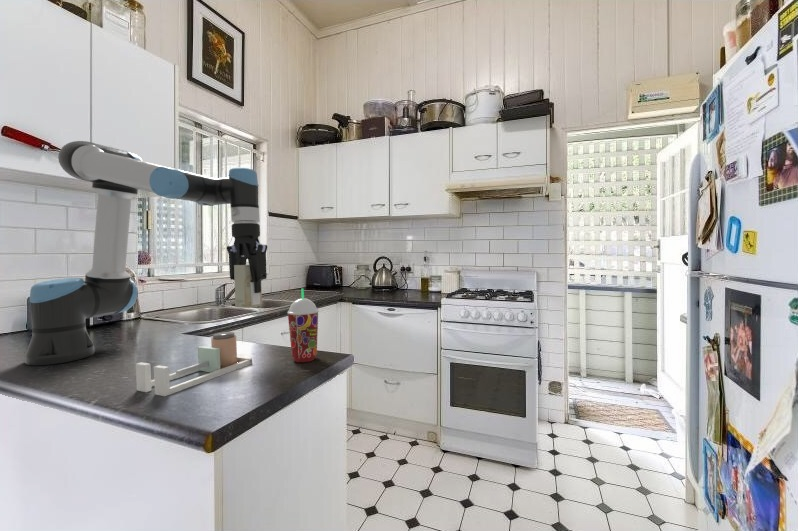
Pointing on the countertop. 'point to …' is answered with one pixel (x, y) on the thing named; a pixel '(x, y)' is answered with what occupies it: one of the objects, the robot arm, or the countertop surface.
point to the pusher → (204, 361)
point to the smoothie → (303, 329)
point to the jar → (225, 348)
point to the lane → (164, 377)
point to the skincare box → (243, 286)
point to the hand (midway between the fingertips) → (249, 304)
